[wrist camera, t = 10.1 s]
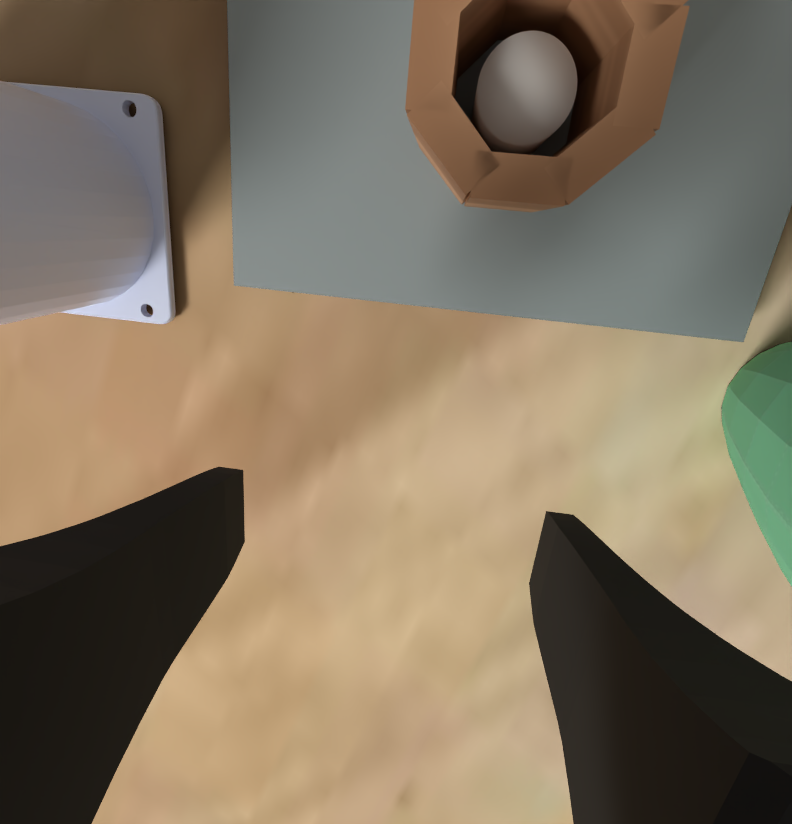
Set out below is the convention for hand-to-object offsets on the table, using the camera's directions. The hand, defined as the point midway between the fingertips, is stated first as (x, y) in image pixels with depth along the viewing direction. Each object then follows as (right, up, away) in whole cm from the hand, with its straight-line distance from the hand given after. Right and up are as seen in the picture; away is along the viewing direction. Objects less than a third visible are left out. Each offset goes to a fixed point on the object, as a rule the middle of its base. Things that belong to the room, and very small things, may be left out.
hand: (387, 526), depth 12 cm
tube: (+4, +12, +4) cm, 13 cm away
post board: (+4, +12, +5) cm, 14 cm away
